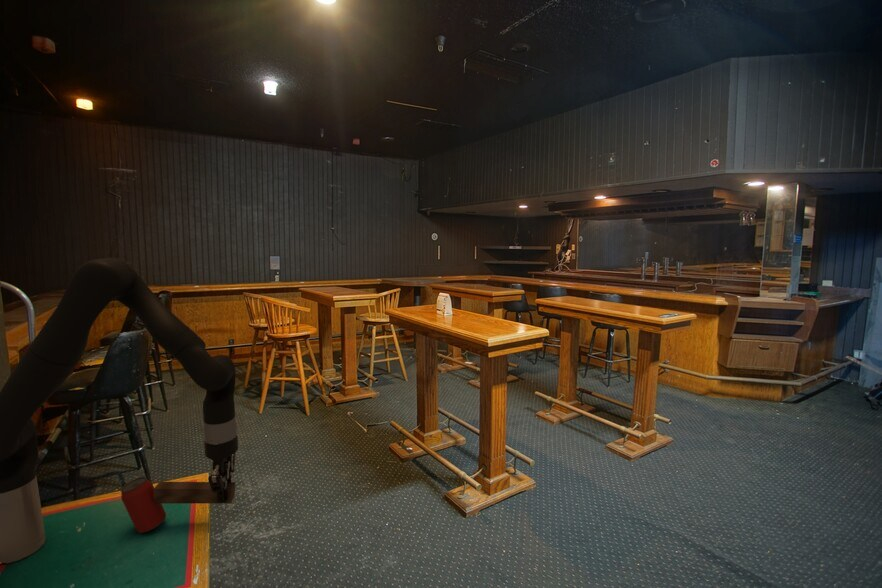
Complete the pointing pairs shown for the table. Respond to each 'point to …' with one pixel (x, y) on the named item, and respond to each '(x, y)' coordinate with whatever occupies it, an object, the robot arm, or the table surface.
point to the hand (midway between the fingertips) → (224, 497)
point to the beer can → (142, 504)
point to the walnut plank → (189, 493)
